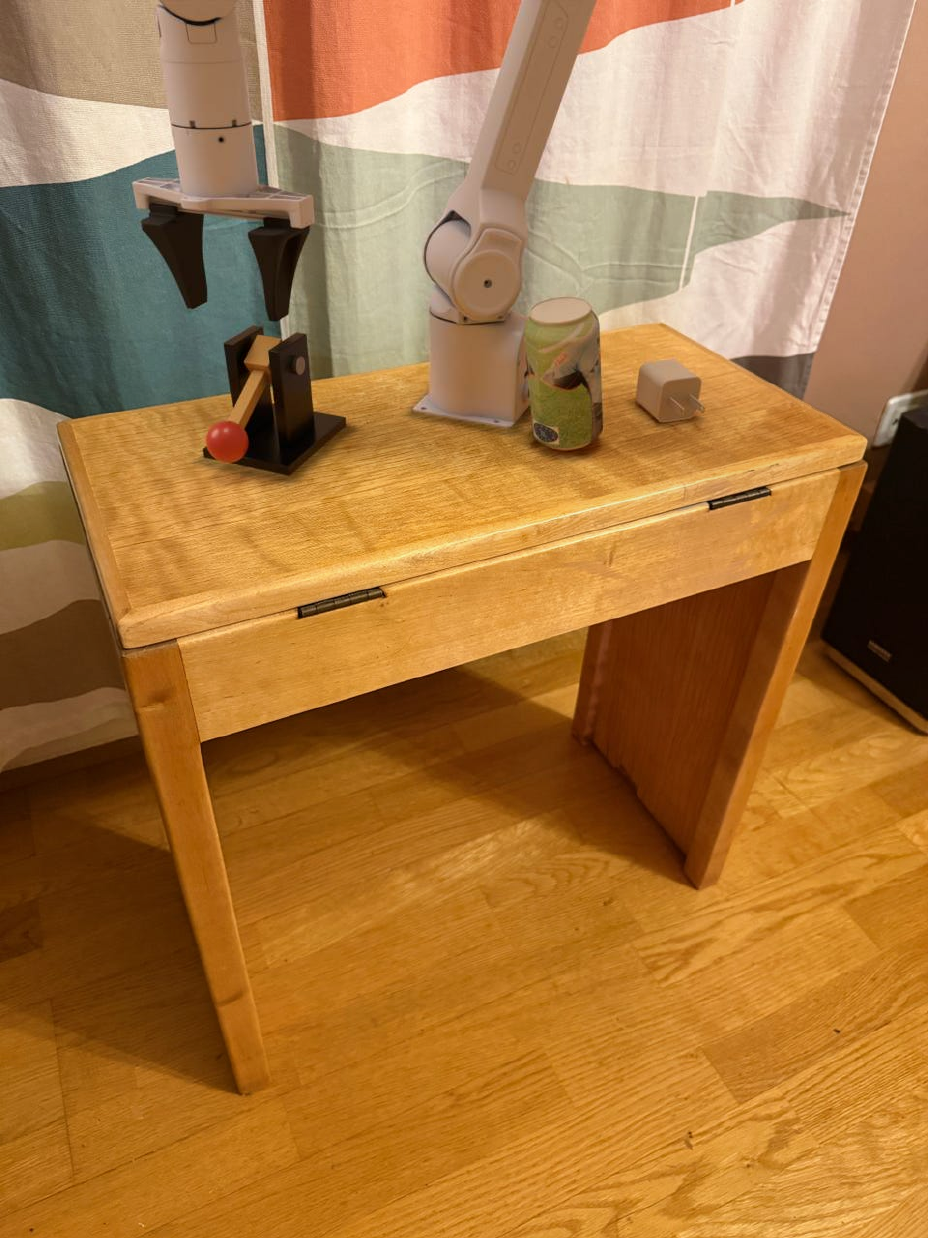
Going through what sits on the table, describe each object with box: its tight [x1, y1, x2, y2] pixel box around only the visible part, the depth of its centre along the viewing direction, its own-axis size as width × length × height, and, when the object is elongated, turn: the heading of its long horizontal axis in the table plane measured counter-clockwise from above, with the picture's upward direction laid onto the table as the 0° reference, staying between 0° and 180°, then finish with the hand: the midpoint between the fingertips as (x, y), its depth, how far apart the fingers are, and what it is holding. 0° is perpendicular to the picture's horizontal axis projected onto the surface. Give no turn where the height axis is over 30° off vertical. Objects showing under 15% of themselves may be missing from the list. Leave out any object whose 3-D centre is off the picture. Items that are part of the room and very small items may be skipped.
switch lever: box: [205, 335, 283, 464], centre depth 72 cm, size 11×3×3 cm
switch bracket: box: [202, 325, 347, 476], centre depth 75 cm, size 10×8×9 cm
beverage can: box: [524, 296, 604, 451], centre depth 76 cm, size 6×7×12 cm
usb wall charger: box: [635, 358, 706, 423], centre depth 82 cm, size 4×7×4 cm, turn 18°
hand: (237, 311), depth 74 cm, fingers open, 7 cm apart
